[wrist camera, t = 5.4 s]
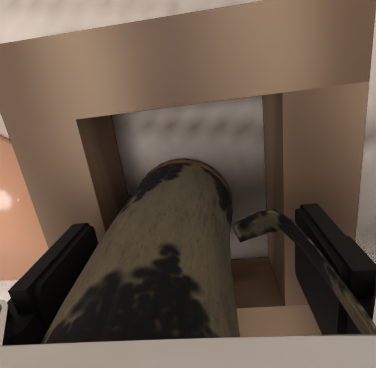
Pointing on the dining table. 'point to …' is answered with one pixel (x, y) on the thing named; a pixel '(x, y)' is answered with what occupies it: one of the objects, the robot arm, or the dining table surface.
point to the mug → (175, 265)
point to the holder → (194, 94)
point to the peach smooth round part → (17, 219)
